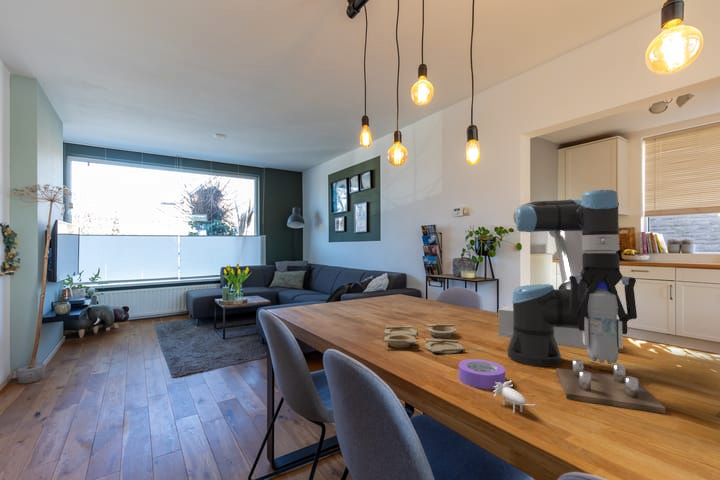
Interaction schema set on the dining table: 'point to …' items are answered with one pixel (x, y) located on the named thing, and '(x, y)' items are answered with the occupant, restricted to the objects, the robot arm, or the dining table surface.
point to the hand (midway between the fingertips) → (602, 345)
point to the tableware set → (404, 338)
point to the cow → (510, 395)
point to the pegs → (619, 377)
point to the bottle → (602, 325)
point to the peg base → (607, 392)
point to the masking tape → (481, 373)
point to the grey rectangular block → (561, 334)
